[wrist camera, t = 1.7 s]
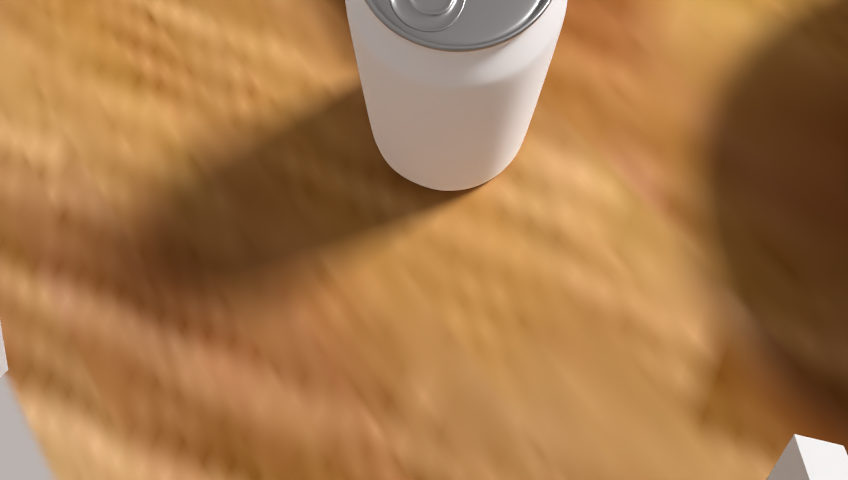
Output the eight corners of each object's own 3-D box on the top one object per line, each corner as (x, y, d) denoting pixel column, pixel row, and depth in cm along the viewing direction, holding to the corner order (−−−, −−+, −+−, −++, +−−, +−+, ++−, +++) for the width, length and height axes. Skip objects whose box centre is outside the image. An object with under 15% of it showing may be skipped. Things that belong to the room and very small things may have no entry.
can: (340, 139, 32) (287, -18, 20) (427, 21, 33) (425, -192, 22) (470, 224, 31) (493, 112, 20) (556, 100, 32) (626, -77, 21)
